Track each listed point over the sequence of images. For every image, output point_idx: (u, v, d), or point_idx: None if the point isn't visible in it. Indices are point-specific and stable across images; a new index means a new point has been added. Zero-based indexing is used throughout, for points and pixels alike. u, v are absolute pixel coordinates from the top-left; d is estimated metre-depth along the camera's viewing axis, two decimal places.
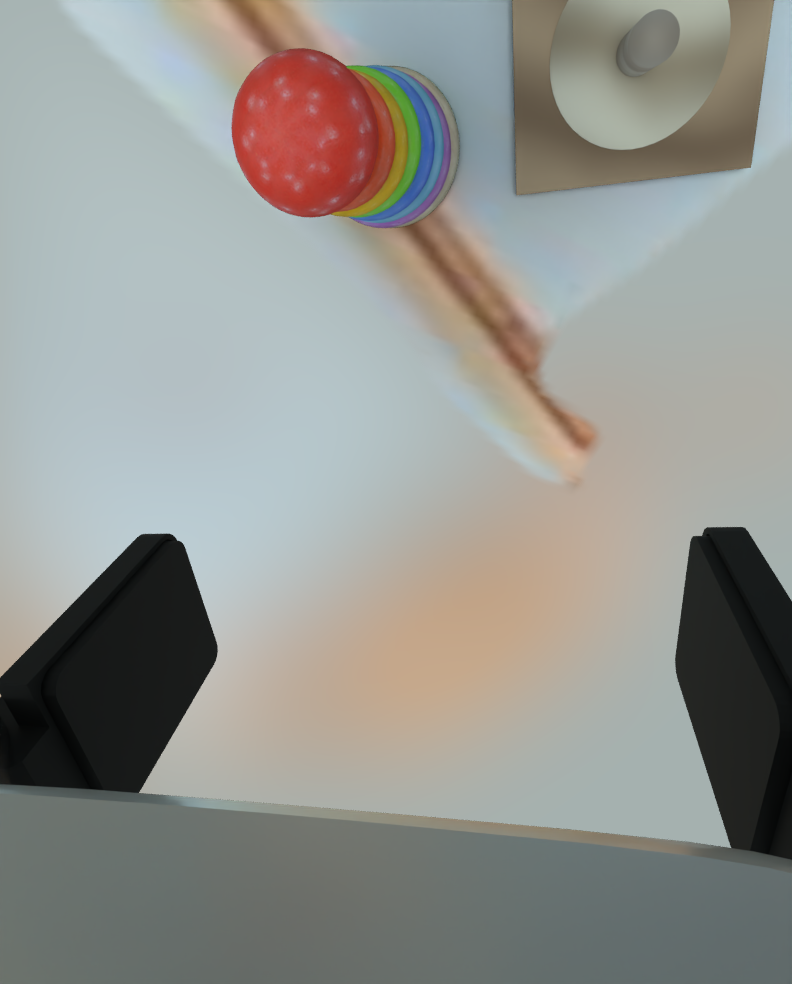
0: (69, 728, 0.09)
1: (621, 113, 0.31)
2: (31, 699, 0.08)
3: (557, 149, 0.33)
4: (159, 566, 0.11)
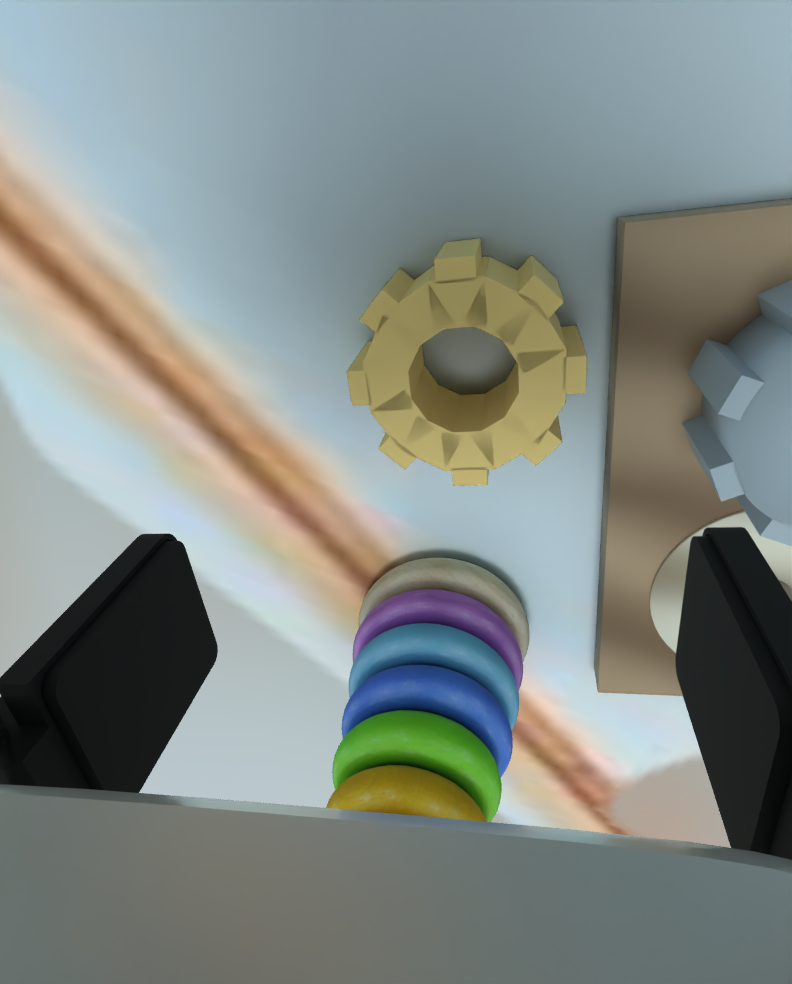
0: (69, 728, 0.09)
1: None
2: (31, 699, 0.08)
3: (652, 661, 0.27)
4: (159, 566, 0.11)
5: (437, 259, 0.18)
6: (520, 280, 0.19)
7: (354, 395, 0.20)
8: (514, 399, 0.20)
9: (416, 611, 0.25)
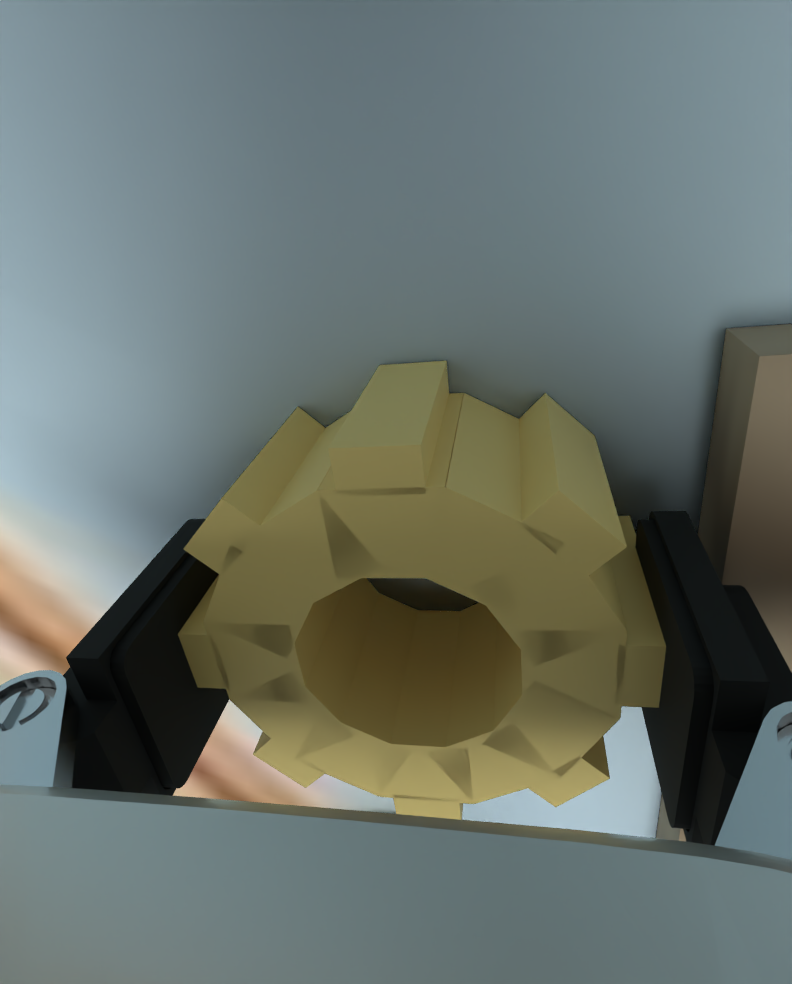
0: (134, 702, 0.09)
1: None
2: (101, 673, 0.08)
3: None
4: None
5: (335, 447, 0.08)
6: (525, 469, 0.09)
7: (195, 673, 0.10)
8: (513, 701, 0.10)
9: None
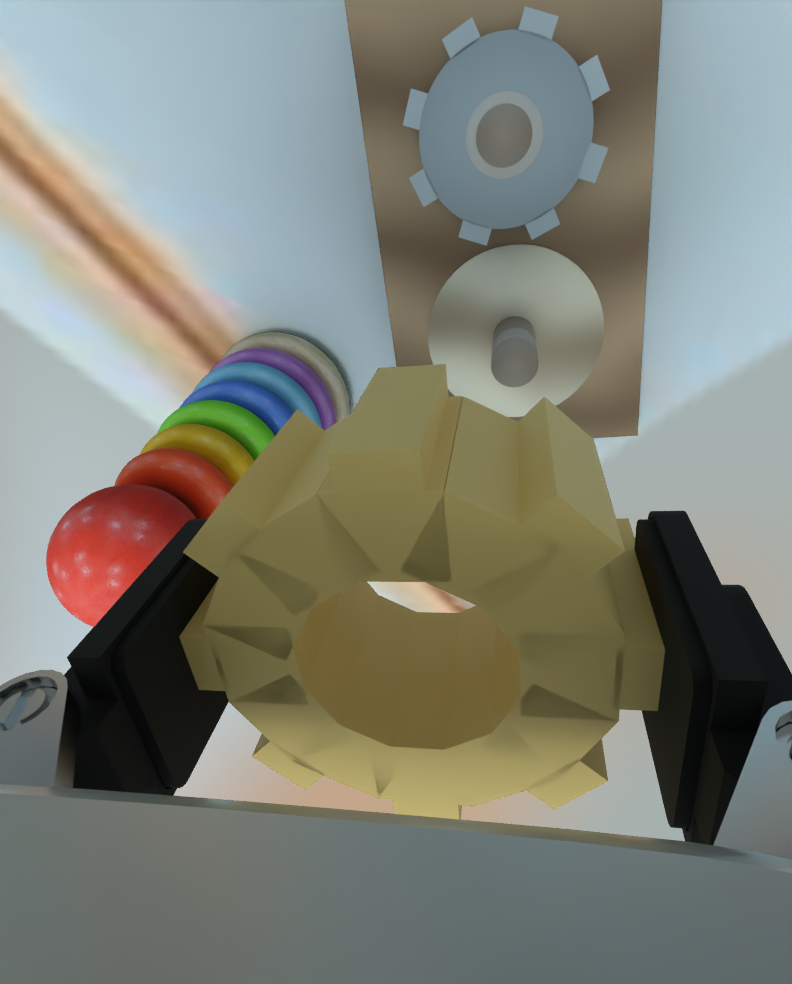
0: (135, 702, 0.09)
1: (503, 386, 0.31)
2: (102, 672, 0.08)
3: None
4: None
5: (335, 452, 0.08)
6: (524, 473, 0.09)
7: (194, 675, 0.10)
8: (511, 704, 0.10)
9: (238, 359, 0.30)
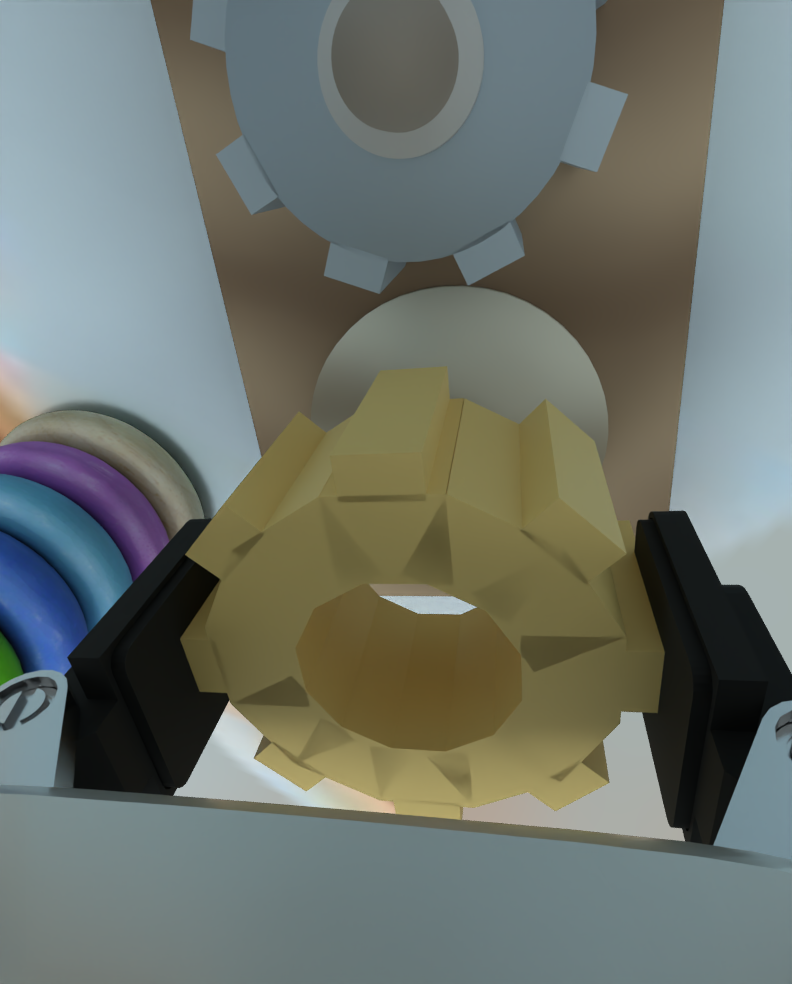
0: (136, 702, 0.09)
1: None
2: (102, 673, 0.08)
3: None
4: None
5: (337, 454, 0.08)
6: (525, 476, 0.09)
7: (196, 677, 0.10)
8: (513, 706, 0.10)
9: None
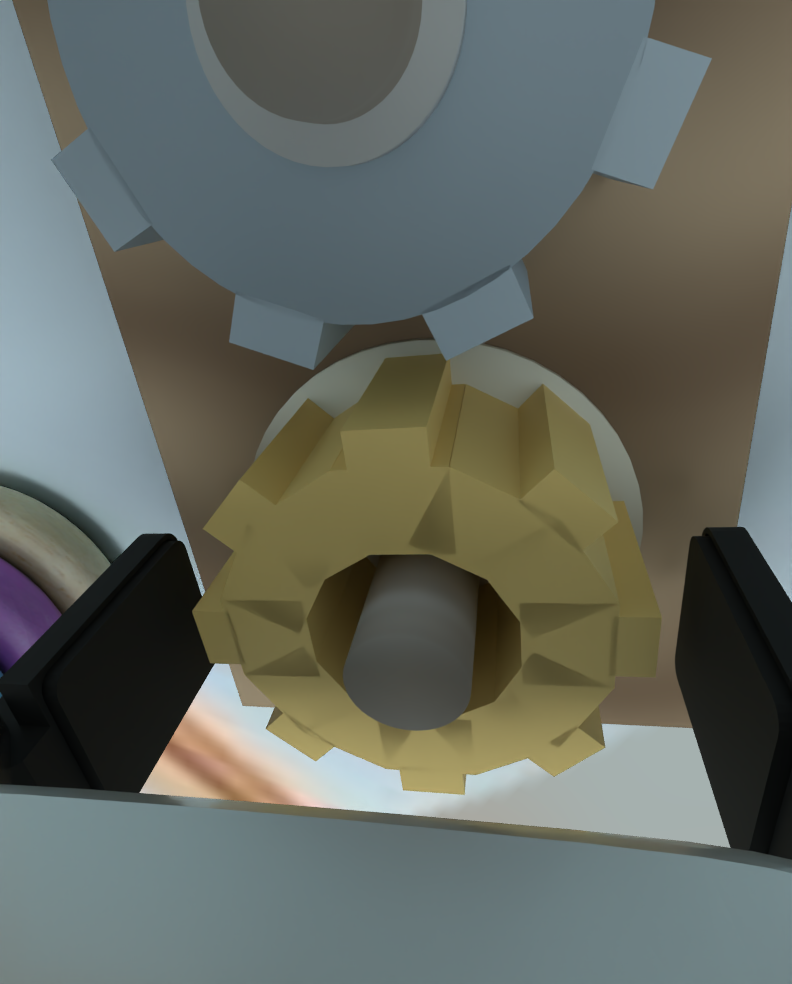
0: (70, 728, 0.09)
1: None
2: (32, 699, 0.08)
3: None
4: (159, 566, 0.11)
5: (347, 430, 0.08)
6: (524, 453, 0.10)
7: (211, 649, 0.11)
8: (513, 673, 0.10)
9: None
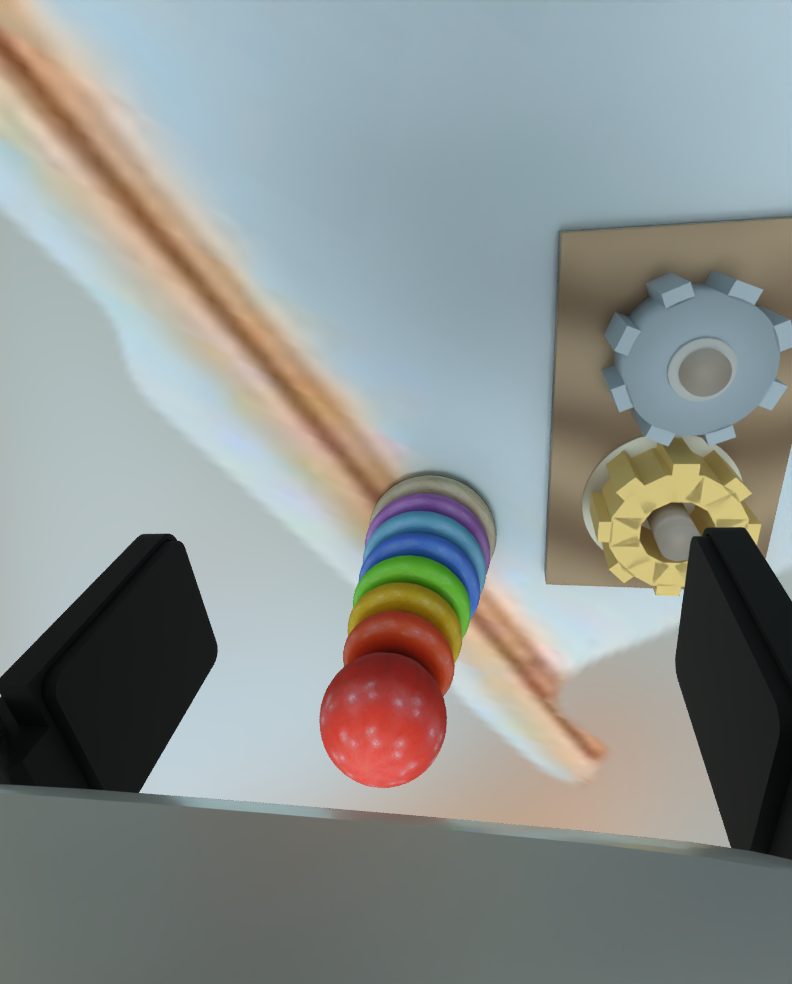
0: (69, 728, 0.09)
1: None
2: (31, 699, 0.08)
3: (584, 557, 0.36)
4: (159, 566, 0.11)
5: (675, 464, 0.29)
6: (717, 473, 0.30)
7: (600, 536, 0.31)
8: None
9: (415, 504, 0.34)
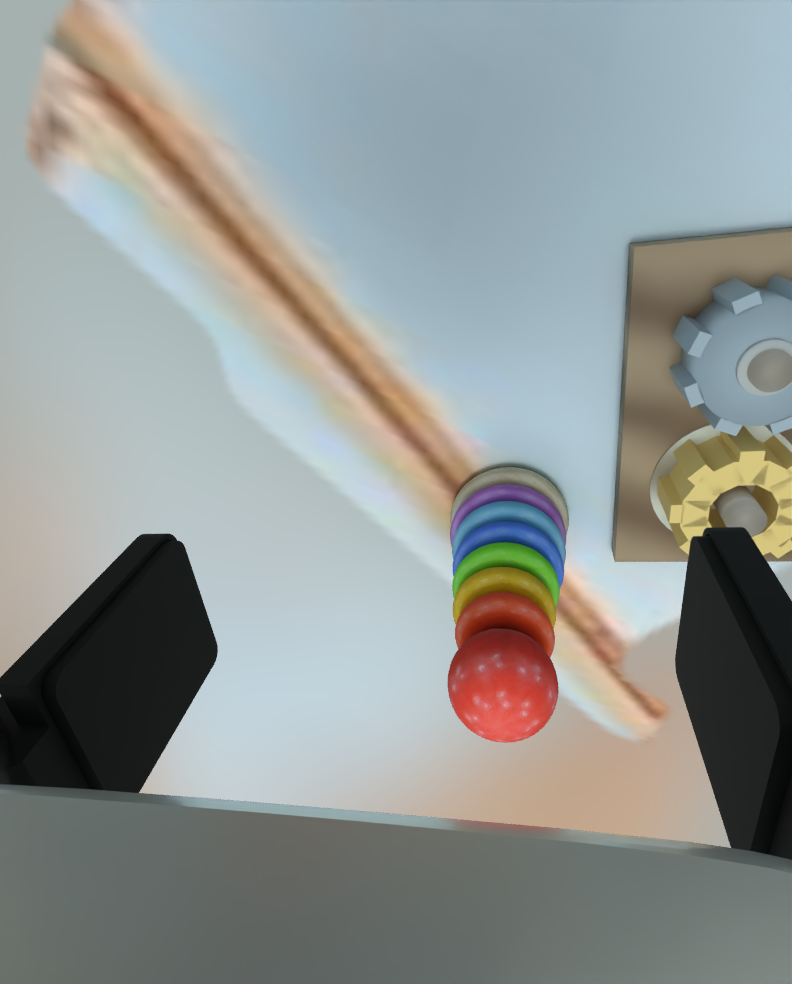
0: (69, 728, 0.09)
1: None
2: (31, 699, 0.08)
3: (651, 536, 0.40)
4: (159, 566, 0.11)
5: (742, 451, 0.32)
6: (779, 457, 0.34)
7: (672, 517, 0.35)
8: (771, 522, 0.34)
9: (498, 495, 0.38)
